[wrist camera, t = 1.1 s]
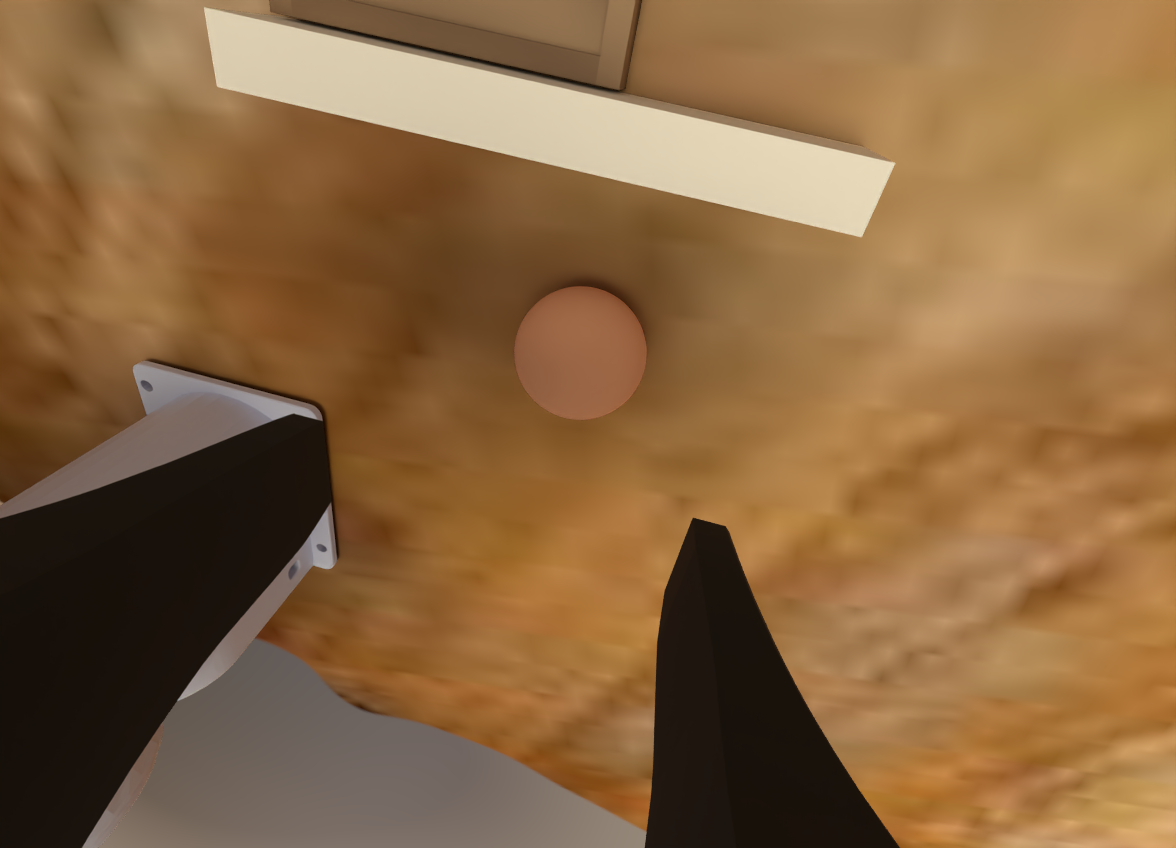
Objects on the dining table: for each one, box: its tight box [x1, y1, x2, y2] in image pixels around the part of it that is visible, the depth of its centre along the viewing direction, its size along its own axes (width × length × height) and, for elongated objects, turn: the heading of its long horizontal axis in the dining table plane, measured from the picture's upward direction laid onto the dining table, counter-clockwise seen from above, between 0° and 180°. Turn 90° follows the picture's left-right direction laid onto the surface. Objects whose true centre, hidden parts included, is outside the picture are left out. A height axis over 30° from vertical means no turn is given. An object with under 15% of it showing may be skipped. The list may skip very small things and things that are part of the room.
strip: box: [204, 7, 895, 237], centre depth 14 cm, size 2×16×3 cm, turn 80°
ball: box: [514, 286, 647, 420], centre depth 17 cm, size 4×4×4 cm
